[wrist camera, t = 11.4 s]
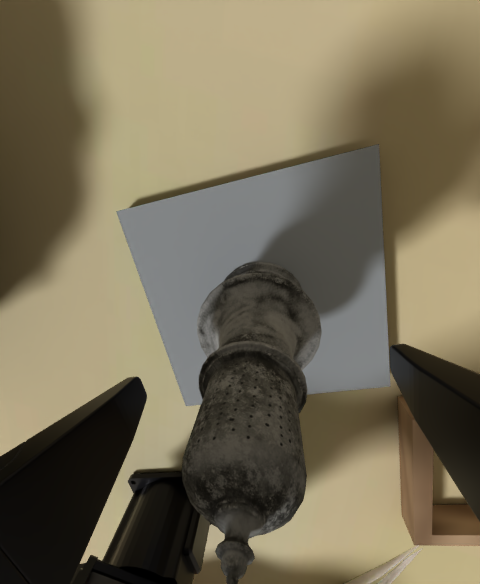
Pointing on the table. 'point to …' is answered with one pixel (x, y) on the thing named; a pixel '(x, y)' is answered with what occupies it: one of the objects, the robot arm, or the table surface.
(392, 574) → the tweezers
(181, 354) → the grey mat
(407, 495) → the frame
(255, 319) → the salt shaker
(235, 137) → the table surface
